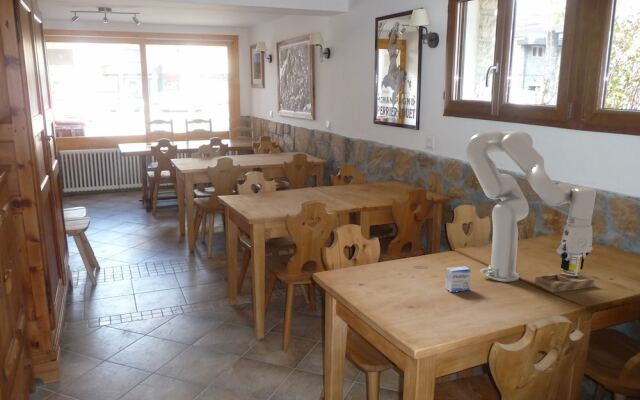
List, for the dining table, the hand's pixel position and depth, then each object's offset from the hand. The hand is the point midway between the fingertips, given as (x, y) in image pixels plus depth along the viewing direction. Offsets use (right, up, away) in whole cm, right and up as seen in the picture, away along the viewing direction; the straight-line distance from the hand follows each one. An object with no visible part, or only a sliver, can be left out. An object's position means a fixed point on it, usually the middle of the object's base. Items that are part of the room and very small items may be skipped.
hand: (571, 268), depth 188 cm
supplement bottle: (0, -2, +1) cm, 2 cm away
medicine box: (-40, -9, +7) cm, 42 cm away
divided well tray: (+2, -8, +11) cm, 13 cm away
